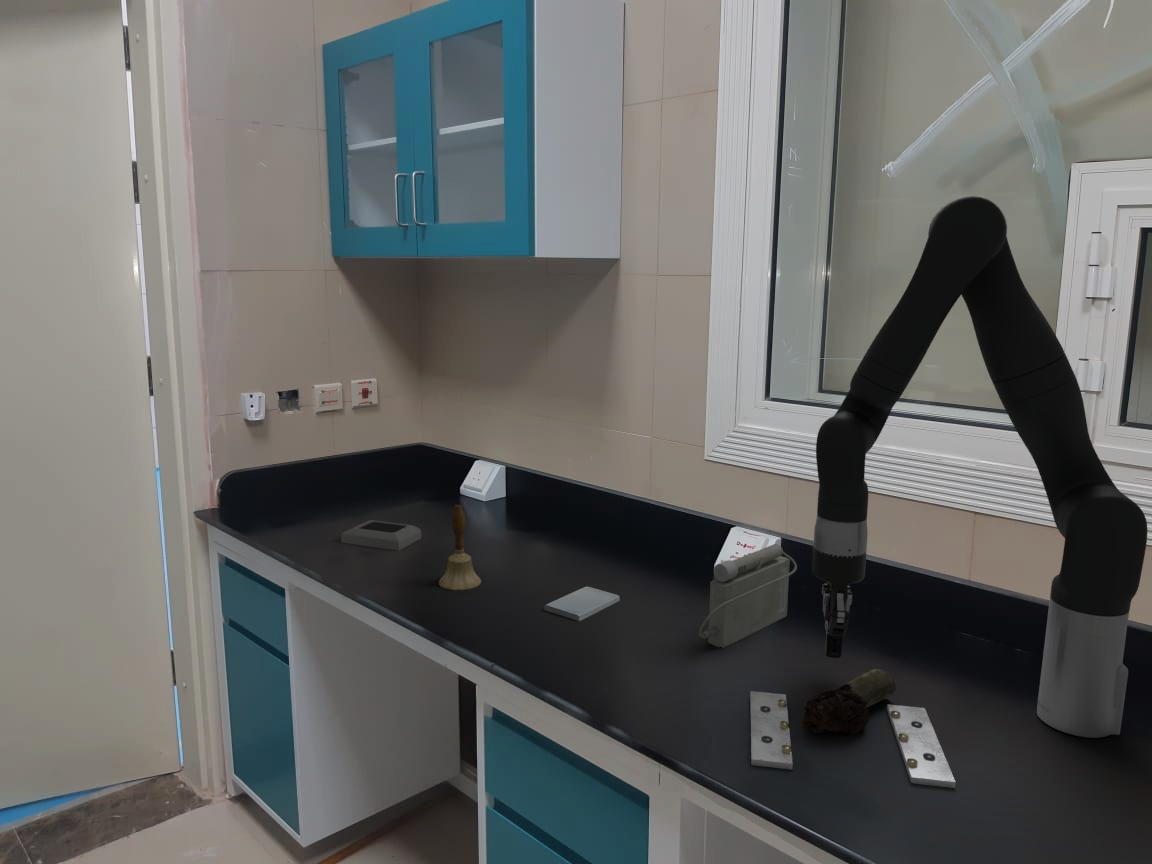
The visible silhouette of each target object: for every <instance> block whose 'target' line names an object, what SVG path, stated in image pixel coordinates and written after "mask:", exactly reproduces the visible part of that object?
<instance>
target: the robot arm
mask: <svg viewBox="0 0 1152 864" xmlns="http://www.w3.org/2000/svg"><path fill="white" fill-rule="evenodd" d="M927 233H928V234H927V235H928V236H927V239H926V242H925V245H924V247H923V250H922V253H921V256H920V259H919V262H918V264H917V266H916V268H915V270H914V273H913V274H912V277H911V278H910V281H909V283H908V285H907V287H906V289H905V291H904V292H903V294H902V296H901V298H900V299H899V301H898V302H897V303H896V306H895V307H894V309H893V310H892V312H891V313H890V315H889V316H888V318H887V319H886V320H885V322H884V323H883V325H882V326H881V328H880V329H879V331H878V333H877V334H876V336H875V337H874V339H873V340H872V342H871V343H870V345H869V347H868V349H867V350H866V352H865V354H864V356H863V358H862V359H861V360H860V363H859V365H858V366H857V368H856V370H855V371H854V373H853V375H852V378H851V380H850V385H849V388H850V389H849V391H848V392H847V394H846V395H845V397H844V399H843V400H842V403H841V404H840V405H839V407H838V409H837V411H836V412H835V414H834V415H833V416H831V417H829V418H827V419H826V420H825V421H824V422H823V423H822V424H821V425H820V427H819V429H818V432H817V435H816V443H815V455H816V457H815V459H816V468H817V476H818V477H817V478H818V484H819V486H818V493H817V494H818V495H817V505H816V506H817V507H816V508H817V509H816V510H817V512H816V519H815V525H814V530H813V531H814V532H813V548H812V561H811V562H812V566H811V572H812V574H813V575H814V577H816V579H819V580H820V581H824V584H823V583H822V587H821V594H822V596H823V598H822V599H823V600H822V613H823V619H824V622H825V623H824V627H825V628H824V629H825V646H824V647H825V648H824V650H825V651H824V652H825V656H826V657H828V658H834V659H840V658H841V657H842V651H843V649H842V648H843V647H842V646H843V637H846V635H847V631H848V627H849V624H850V620H851V617H852V616H851V615H852V614H851V611H850V608H851V607H850V606H851V605H852V603H853V592H852V591H851V586H850V585H852V584H857V583H860V582H862V581H863V580H864V578H865V575H866V564H867V563H866V562H867V548H868V534H869V533H868V510H869V509H868V508H869V488H868V487H869V486H868V483H867V482H866V480H865V473H866V471H865V469H866V468H865V467H866V458H867V457H866V456H867V453H868V452H869V451H870V450H871V449H872V447H873V446H874V445H875V443H876V442H877V440H878V438H879V437H880V434H881V433H882V431H883V429H884V427H885V425H886V423H887V420H888V418H889V416H890V415H891V412H892V410H893V407H894V406H895V405H896V403H897V402H898V401H899V400H900V398H901V396H902V395H903V394H904V392H905V390H906V389H907V387H908V385H909V383H910V382H911V380H912V379H913V377H914V375H915V373H916V372H917V370H918V368H919V366H920V364H921V363H922V361H923V359H924V357H925V356H926V354H927V352H928V351H929V349H930V346H931V345H932V342H933V341H934V339H935V337H936V335H937V334H938V332H939V330H940V328H941V326H942V324H943V322H944V321H945V320H946V317H948V315H949V313H950V312H951V310H952V308H953V307H954V306H955V304H956V302H957V301H958V300H959V298H960V297H962V299H963V301H964V303H965V306H966V307H967V310H968V313H969V315H970V319H971V322H972V326H973V330H974V333H975V336H976V341H977V344H978V347H979V350H980V353H981V356H982V360H983V362H984V364H985V367H986V371H987V372H988V375H989V378H990V380H991V382H992V385H993V387H994V389H995V391H996V393H997V396H998V398H999V400H1000V402H1001V404H1002V405H1003V408H1004V409H1005V412H1006V414H1007V415H1008V418H1009V420H1010V421H1011V423H1012V425H1013V427H1014V429H1015V431H1016V432H1017V434H1018V436H1019V438H1020V439H1021V441H1022V442H1023V444H1024V446H1025V447H1026V449H1027V451H1028V452H1029V454H1030V456H1031V458H1032V459H1033V462H1034V464H1035V465H1036V466H1035V467H1036V469H1037V471H1038V473H1039V476H1040V479H1041V482H1042V485H1043V488H1044V491H1045V494H1046V497H1047V500H1048V503H1049V507H1050V509H1051V510H1050V511H1051V513H1052V517H1053V521H1054V524H1055V526H1056V528H1057V530H1058V532H1059V533H1060V535H1062V537H1063V538H1064V545H1063V546H1064V547H1063V552H1062V560H1061V565H1060V572H1059V573H1058V574H1057V575H1055V576H1054V577H1053V579H1052V581H1051V587H1050V594H1049V595H1050V597H1049V604H1048V612H1047V619H1046V620H1047V621H1046V628H1045V629H1046V630H1045V636H1044V637H1045V638H1044V646H1043V653H1042V656H1043V657H1042V663H1041V672H1040V679H1039V688H1038V689H1039V690H1038V695H1037V706H1036V714H1037V717H1039V719H1040V720H1041V721H1043V722H1044V723H1045V724H1046V725H1048V726H1050V727H1051V728H1053V729H1055V730H1057V731H1060V732H1063V733H1065V734H1069V735H1072V736H1077V737H1081V738H1090V739H1091V738H1095V739H1097V738H1098V739H1099V738H1105V737H1108V736H1111V735H1114V736H1120V735H1121V727H1122V720H1123V714H1124V713H1123V712H1124V705H1125V699H1126V691H1127V683H1128V677H1129V669H1128V667H1127V666H1126V665H1125V664H1124V663H1123V660H1124V655H1125V654H1124V653H1125V646H1126V637H1127V630H1128V622H1129V615H1130V609H1131V605H1132V604H1131V603H1132V600H1133V598H1134V597H1135V595H1136V594H1137V592H1138V589H1139V587H1140V584H1141V583H1140V582H1141V579H1142V578H1141V577H1142V571H1143V566H1144V560H1145V554H1146V550H1147V542H1148V522H1147V518H1146V515H1145V514H1144V511H1143V509H1142V508H1141V507H1140V506H1139V505H1138V504H1137V503H1135V502H1134V501H1133V500H1132V499H1131V498H1130V497H1128V496H1126V495H1125V494H1124V493H1123V492H1121V490H1119V488H1118V487H1117V486H1116V485H1115V483H1114V482H1113V480H1112V479H1111V477H1110V475H1109V474H1108V472H1107V471H1106V468H1105V466H1104V465H1103V463H1102V462H1101V459H1100V458H1099V455H1098V454H1097V452H1096V450H1095V448H1094V446H1093V443H1092V440H1091V437H1090V434H1089V428H1088V421H1087V415H1086V409H1085V405H1084V400H1083V399H1084V398H1083V396H1082V391H1081V388H1080V385H1079V382H1078V379H1077V377H1076V374H1075V372H1074V370H1073V367H1072V365H1071V363H1070V361H1069V358H1068V357H1067V354H1066V353H1065V350H1064V348H1063V346H1062V344H1061V342H1060V341H1059V338H1058V337H1057V336H1056V334H1055V332H1054V329H1053V328H1052V326H1051V325H1050V323H1049V321H1048V320H1047V318H1046V317H1045V315H1044V313H1043V312H1042V311H1041V309H1040V307H1039V306H1038V305H1037V303H1036V302H1035V300H1034V299H1033V297H1032V296H1031V294H1030V293H1029V291H1028V289H1027V288H1026V286H1025V283H1024V282H1023V280H1022V278H1021V275H1020V273H1019V269H1018V267H1017V264H1016V261H1015V258H1014V256H1013V252H1012V250H1011V247H1010V244H1009V241H1008V237H1007V233H1008V224H1007V219H1006V217H1005V215H1004V212H1003V211H1002V209H1001V208H1000V206H998V205H997V204H996V203H995V202H994V201H992V200H990V199H988V198H986V197H983V196H979V195H965V196H960V197H957V198H954V199H952V200H949V202H947V203H945V204H944V205H943V206H941V207H940V208H939V209H938V210H937V212H936V213H935V215H934V216H933V217H932V220H931V222H930V223H929V228H928V232H927Z"/></svg>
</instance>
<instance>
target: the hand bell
mask: <svg viewBox="0 0 1152 864" xmlns="http://www.w3.org/2000/svg"><path fill="white" fill-rule="evenodd" d="M451 525H452V531H453V533H454V537H455V538H454V545H455V547H454V550H455V551H454V553H453V554H451V555H450V556H448V559H447V567H446V571H445V573H444V575H443V576H441V578H440V579H439V581H438V585H439V586H440V587H441V588H442V589H445V590H447V591H448V590H449V591H450V590H451V591H466V590H472V589H475V588H477V587H479V586H480V585H481V583H482V579H481V578H480V576H478V575H477V573H476V572H475V571H474V566H473V561H472V557H471V555H469V554H467V553H465V546H464V545H465V544H464V534H465V529H466V516H465V512H464V510H463V506H462V504H455V505H454V508H453V512H452V517H451Z"/></svg>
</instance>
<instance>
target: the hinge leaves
mask: <svg viewBox="0 0 1152 864" xmlns="http://www.w3.org/2000/svg"><path fill="white" fill-rule="evenodd" d="M749 695H750V696H749V700H750V701H749V702H750V704H749V706H750V707H749V708H750V709H749V710H750V753H751V754H750V761H751V763H750V764H751V766H754V767H755V766H757V767H766V768H775V769H782V770H791V771H792V770H793V763H794V762H793V754H792V753H793V752H792V744H791V743H792V742H791V735H790V734H791V732H790V723H789V713H788V705H787V704H788V702H787V695H786V693H785V694H784V693H776V692H775V693H773V692H765V691H763V692H762V691H753V690H751V691H750V693H749ZM886 711H887V714H888V716H889V717H888V718H889V720H890V723H891V726H892V729H893V733H894V735H895V739H896V742H897V744H898V747H899V751H900V753H901V756H902V759H903V760H902V761H903V763H904V765H905V769H906V772H907V775H908V778H909V781H910V784H914V785H915V784H917V785H923V786H932V787H941V788H952V789H956V780H955V777H954V775H953V773H952V770H951V767H950V765H949V762H948V760H947V758H946V756H945V753H944V751H943V748H942V746H941V744H940V741H939V740H938V736H937V734H936V732H935V729H934V727H933V725H932V722H931V720H930V718H929V715H928V712H927V710H926V708H925V707H920V706H919V707H917V706H907V705H906V706H905V705H897V704H887V706H886Z"/></svg>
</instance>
